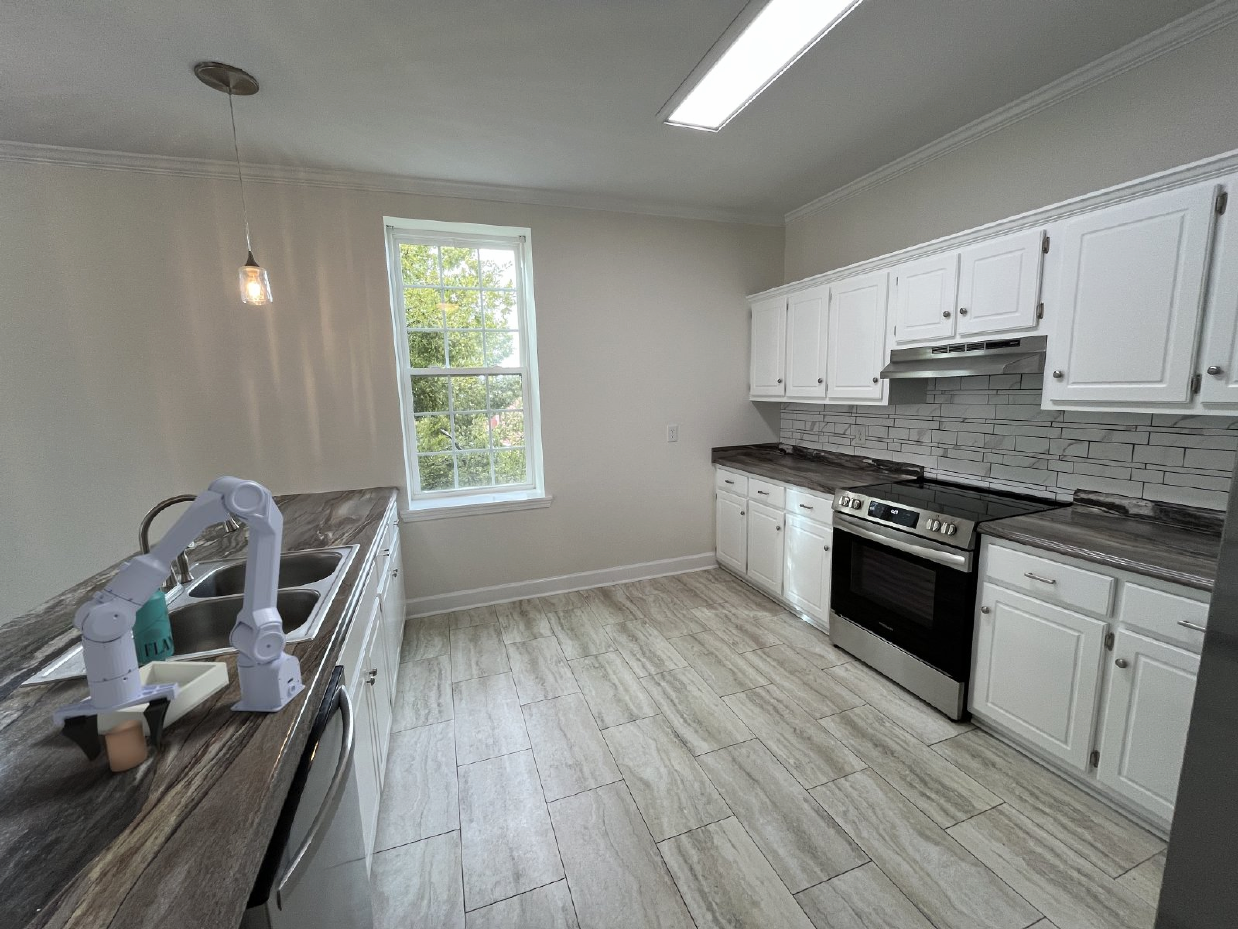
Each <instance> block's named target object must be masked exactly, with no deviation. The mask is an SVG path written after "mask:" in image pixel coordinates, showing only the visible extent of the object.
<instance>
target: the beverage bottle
mask: <svg viewBox="0 0 1238 929" xmlns="http://www.w3.org/2000/svg"><path fill="white" fill-rule="evenodd" d="M169 614H170V613H169V608H168V603H167V600H166V592H164V591H162V590H160V589H158V590H157V591H156V592H155V593H154V594H153V595H152V596H151V597H150V599H149V600H148V601H147V602H146V603H145V604H144V605H143V606H142V607H141V608H140V609H139V610H138V611H136V614H135V615H136V620H135V624H134V626H133V627H132V628H131V633H132V638H133V639H134V645H135V651H136V656H137V662H138V664H140V665H147V664H149V663H150V662H152V661H164V660H165V659H167V658H169V657H171V656H172V655H173V654H174V651H175V643H174V638H173V631H172V626H171V620H170V615H169Z"/></svg>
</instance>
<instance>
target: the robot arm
mask: <svg viewBox="0 0 1238 929" xmlns="http://www.w3.org/2000/svg"><path fill="white" fill-rule="evenodd" d="M230 514H231V515H234V516H235V517H236V518H237V519H239V521H241V522H243V523H244V524H245V525H246V526H248V541H247V551H246V566H245V576H244V577H245V578H244V591H243V603H242V604H243V605H242V609H241V610H240V611H239V612H238V613H237V615H236V620H235V623H234V624H235V625H234V626H233V628H232V630H231V631H230V633H229V638H228V639H229V644H230V646H231V647H232V648H234V650H237V651H238V655H237V658H236V665H237V666H236V667H237V672H238V679H239V686H240V688H239V689H240V692H241V693H240V694H241V700H239V701H238V702H236V703H235V704H234V705H233V706H231V707H230V710H231V711H234V712H235V711H236V712H238V711H240V712H241V711H242V712H279V711H280V710H281V709H282V708H284V707H285V706H286V705H287V704H288V703H289V702H290V701H291V700H293V699H294V698H295V697H296V696H298V694H300V693H301V692H302V691H303V690H304V689H305V688H306V685H305V684H303V683H302V682H303V681H302V674H301V664H300V661H299V659H298V657H297V656H295V655H290V654H288V653H285V652H284V649H285V647H286V644H287V637H286V634H285V633H284V631H283V620H282V618H281V617H282V616H281V615H280V613H279V611H278V608H277V602H278V589H279V575H280V564H281V562H280V561H281V554H282V553H281V552H282V541H283V529H284V528H283V526H284V516H283V514H282V513H281V511H280V509H279V508H278V506H277V504H276V503H275V501H274V499H273V498H272V492H271V490H269V489H267V488H266V487H265V486H263V485H262V484H260V483H258V482H257V481H254V480H249V479H242V478H238V477H235V476H231V475H230V476H229V475H227V476H226V475H225V476H221V477H218V478H216V479H214V480H213V481H212V482H210V484H209V485H208V487H207V489H204V490H202V491H201V492H200V493H198V495H197V496H196V498H195V499H194V500H193V501H192V503H191V504H190V506H189V507H188V508H187V509H186V510H185V511H184V512H183V513H182V515H181V516H180V517H178V519H177V521H175V523H173V525H172V526H171V528H170V529H169V530H167V532H166V533H165V534H164V536H163V537H162V538H161V539H160V540H159V541H158V542H157V543H156V544H155V546H154V547H153V548H152V549H151V550H150V552H149V553H146V554H141V555H137V556H134V557H133V558H131V559H130V560H129V561H128V562H126V561H123V562H121V564H120V565H119V566H117V569H118V570H119V572H118V573H117V574H116V575H115V576H114V577H113V578H112V579H111V580H110V581H109V583H107V585H106V586H105V587H104V588H103V589H102V590H101V591H99V590H96V591H95V592H94V594H92V598H93V599H91V600H88V601H86V602H85V603H83V604H82V605H81V606H79V608H78V609H77V611H76V612H75V614H74V618H73V619H72V620H71V623H72V625H73V627H74V628H75V629H76V630H77V631H79V632H81V633H82V635H80V636H81V646H82V648H83V649H82V650H83V651H82V657H83V662H84V667H85V672H86V673H85V674H86V678H87V684H88V690H89V694H90V695H89V696H91V698H90V699H87V700H84V699H83V700H84V701H82V700H80V701H78V702H74V703H71V704H65V705H63V706H58V708H57V709H56V710H55V711H54V712H53V713H52V719H53V720H52V721H53V724H54V726H59V725H62V724H64V725H63V728H62V729H61V735H62V736H64V737H66V738H67V739H69V740H71V741H72V742H73V743H75V744H76V745H77V746H78V747H79V748H80V749H81V751H83V753H84V755H85V756H86V758H87V759H88V761H89V762H93V761H96V760H97V758H98V757H99V756H100V755H101V753H102V744H101V740H100V734H98V723H97V716H98V714H104V713H110V712H114V711H118V710H121V709H124V708H128V707H132V706H137V705H141V704H146V703H149V706H147V708H146V709H145V710H144V712H143V715H144V717H145V718H146V721H147V723H148V726H149V730H150V736H149V737H150V743H151V746H158V745H159V744H160V743H161V740H162V739H163V731H164V729H163V724H164V720H165V716H166V713H167V710H168V707H169V705H170V702H171V700H173V699H175V698H176V697H177V695H178V694H179V689H178V683H172V684H165V685H151V686H141V680H140V674H139V669H140V668H139V663H138V661H137V656H136V651H135V645H134V639H133V634H132V627H133V626H134V624H135V620H136V615H135V614H136V611H138V610H139V609H140V608H141V607H142V606H143V605H144V604H145V603H146V602H147V601H148V600H149V599H150V597H151V596H152V595H153V594H154V593H155V592H156V591H157V590H160V588H161V586H162V585H164V583H165V582H166V581H167V580H168V579H169V578H170V576H172V569H171V564H172V563H173V561H175V560H176V559H177V558H178V557H179V556H180V555H181V553H183V552H184V551H185V550H186V549H187V548H188V547H189V546H190V544H192V543H193V542H194V541H195V540H196V539H197V538H198V537H199V536H200V535H201V534H202V533H203V532H204V531H205V530H206V529H207V528H208V527H209V526H211V525H214V524H215V525H216V524H219V523H223V522H227V521H230V520H233V518H232V516H231V515H230Z"/></svg>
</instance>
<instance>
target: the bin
mask: <svg viewBox="0 0 1238 929" xmlns="http://www.w3.org/2000/svg"><path fill="white" fill-rule="evenodd" d="M228 673H229V672H228V668H227V663H226V662H223V661H221V662H220V661H218V662H217V661H215V662H214V661H164V660H161V661H152V662H150V663H149V664H144V666H142V667H140V668H139V674H140V680H141V686H151V685H165V684H172V683H178V689H179V694H178V695H177V697H176V698H175V699H173V700H171V702H170V705H169V707H168V710H167V713H166V716H165V720H164V724H163V730H164V729H166V728H167V727H169V726H170V725H172V724H173V723H174V722H176V721H177V720H179V719H181V717H183V716H184V715H186V714H187V713H188V712H190V711H192V710H193V709H194V708H195V707H197V706H199V705H200V704H201V703H202V702H205V700H208V699H209V698H210V697H212V696H213V695H214V694H215V693H217V692H219V690H221V689H223V688H224V687H225V686H227V685H228V684H230V682H229V675H228ZM90 698H91V695H88V697H86V698H84V699H82V700H81V701H84V700H87V699H90ZM147 706H149V703H146V704H141V705H137V706H132V707H128V708H124V709H121V710H118V711H114V712H110V713H104V714H98V716H97V723H98V734H99V735H105V733H106V732H107V731H108V730H109V729H111V728H112V727H114V726H116V725H118V724H120V723H123V722H126V721H130V720H141V721H142V722H143V728H144V734H145V737H146V736H147V737H150V730H149V726H148V723H147V721H146V718H145V717H144V715H143V712H144V710H145V709H146V708H147Z"/></svg>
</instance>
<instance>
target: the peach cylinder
mask: <svg viewBox="0 0 1238 929" xmlns="http://www.w3.org/2000/svg"><path fill="white" fill-rule="evenodd" d="M104 739H105V744H106V751H107V755H108V759H109V767H110V770H111V771H112V772H116V773H117V772H123V771H127V770H130V769H132V768H135V767H137V766H138V765H140V764H142V763H143V762H144V761H146V760H147V758H148V757H149V752H148V746H147V740H146V736H145V734H144V728H143V722H142V721H141V720H130V721H126V722H123V723H120V724H118V725H116V726H114V727H112V728H111V729H109V730H108V731H107V732H106V733H105V734H104ZM147 756H148V757H147Z"/></svg>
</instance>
